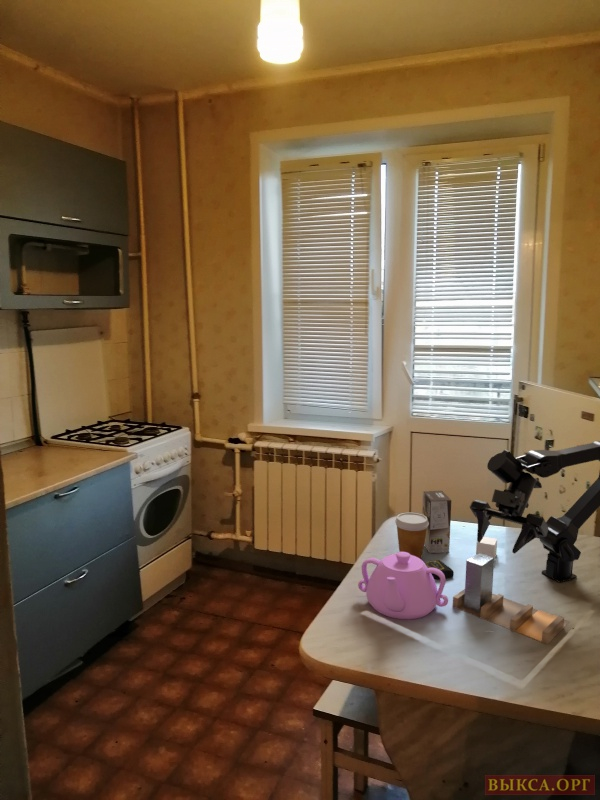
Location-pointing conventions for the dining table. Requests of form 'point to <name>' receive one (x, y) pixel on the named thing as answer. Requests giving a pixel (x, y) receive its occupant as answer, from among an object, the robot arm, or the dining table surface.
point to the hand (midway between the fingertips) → (495, 547)
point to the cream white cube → (487, 546)
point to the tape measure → (442, 567)
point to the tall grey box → (478, 581)
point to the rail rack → (516, 617)
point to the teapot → (402, 586)
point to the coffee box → (437, 521)
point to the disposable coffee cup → (411, 533)
